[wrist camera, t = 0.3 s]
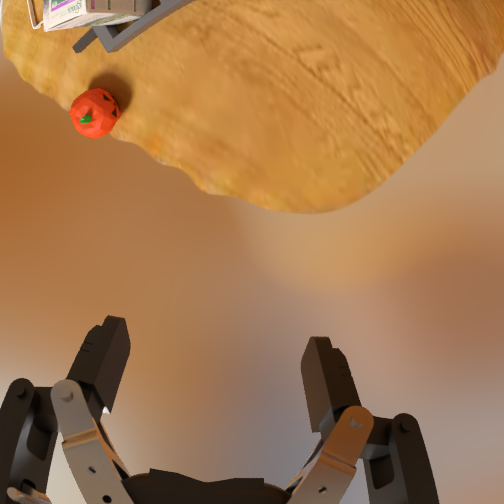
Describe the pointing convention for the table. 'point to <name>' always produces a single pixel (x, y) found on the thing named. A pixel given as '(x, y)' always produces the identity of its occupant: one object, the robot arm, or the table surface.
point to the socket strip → (116, 40)
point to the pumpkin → (95, 113)
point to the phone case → (33, 16)
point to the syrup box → (92, 12)
